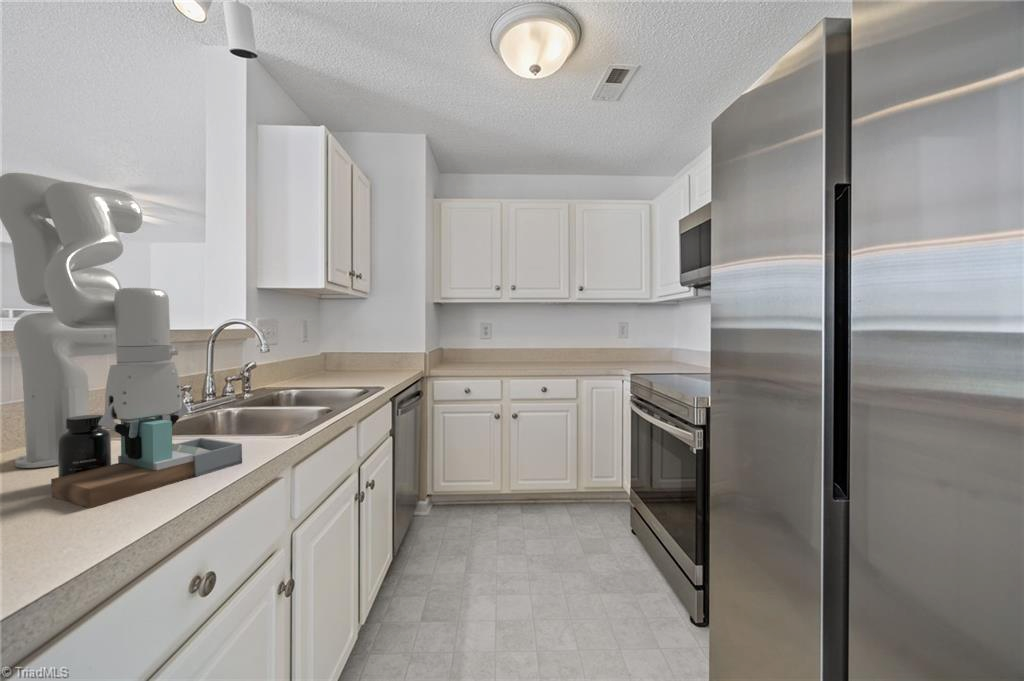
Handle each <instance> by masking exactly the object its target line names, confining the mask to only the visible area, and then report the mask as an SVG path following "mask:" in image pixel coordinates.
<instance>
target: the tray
mask: <svg viewBox="0 0 1024 681" xmlns="http://www.w3.org/2000/svg"><path fill="white" fill-rule="evenodd" d="M176 444H178V445H186V446H193V447H199V448H203V449H206V450H210V451H209V452H205V453H201V454H197V455H194V477H193V478H197V477H200V475H201V476H203V474H204V475H207V474H209V473H213V471H214V472H216V470H217V471H221V470H223V469H226V467H227V468H230V467H233V466H236V465H240V464H242V463H243V445H242V443H240V442H233V441H232V442H231V441H227V440H226V441H225V440H218V439H212V438H204V437H201V438H200V437H199V438H195V439H192V440H187V441H182V442H179V443H178V442H177V443H176ZM206 473H207V474H206ZM196 476H197V477H196Z"/></svg>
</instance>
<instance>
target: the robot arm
mask: <svg viewBox="0 0 1024 681" xmlns="http://www.w3.org/2000/svg"><path fill="white" fill-rule="evenodd" d="M143 218H144V217H143V212H142V209H141V207H140V205H139V203H138V201H137V200H135V199H134V198H133V197H132V196H130V195H129V194H126V193H123V192H119V191H115V190H110V189H106V188H101V187H97V186H93V185H89V184H84V183H81V182H74V181H64V180H60V179H57V178H56V179H55V178H52V177H47V176H42V175H38V174H33V173H24V172H8V173H4V174H1V175H0V221H1V223H2V225H3V227H4V228H5V230H6V232H7V233H8V236H9V238H10V240H11V244H12V247H13V257H14V264H15V270H16V278H17V284H18V290H19V294H20V296H21V298H22V300H23V301H24V302H25V303H27V304H28V305H32V306H36V307H42V308H51V310H52V312H35V313H30V314H27V315H24V316H22V317H20V318H19V319H17V321H16V322H15V324H14V325H13V337H14V344H15V346H16V349H17V352H18V356H19V361H20V366H21V377H22V390H23V411H24V412H23V414H24V434H25V439H24V440H25V455H24V456H20V457H19V458H17V459H15V460H14V466H15V467H16V468H19V469H36V468H38V469H39V468H46V467H54V466H58V440H59V438H60V437H61V436H62V435H63V434H65V433H66V432H68V429H66V419H67V418H70V417H75V416H83V415H90V399H89V398H90V395H89V394H90V393H89V392H90V391H89V378H88V375H87V372H86V371H85V370H84V369H83V368H82V367H81V366H80V365H79V364H78V363H76V361H74V360H73V358H74V357H83V356H85V357H86V356H103V355H104V356H105V355H112V354H113V355H116V364H110V366H109V369H108V375H107V381H106V386H105V396H104V413H103V414H102V415H103V416H102V418H101V419H100V421H99V423H98V426H100V427H102V428H104V429H106V430H111V431H114V432H115V433H117V434H118V435H120V437H121V436H123V437H125V453H126V455H128V458H131V459H136V460H137V459H140V458H141V457H142V446H141V437H138V433H137V432H138V424H139V419H145V418H150V419H152V418H153V419H158V420H166V421H172V427H173V426H174V425H175V424H176V422H178V421H179V420H180V419H181V418H182V417H184V416H185V415H187V414H188V413H189V411H190V410H189V408H188V407H187V406H186V404H185V403H184V402H183V399H182V398H183V397H182V388H181V382H180V381H181V380H180V377H179V376H180V375H179V372H178V368H177V364H176V362H175V361H172V359H173V356H177V355H179V350H178V348H177V347H176V348H175V347H174V348H173V347H172V345H171V325H170V323H171V322H170V321H171V320H170V299H169V295H168V293H167V292H166V291H165V290H162V289H160V288H159V289H157V288H148V287H124V288H123V287H122V286H121V283H120V280H119V279H118V277H117V276H116V275H115V274H114V273H113V272H111V271H109V270H108V269H104V268H100V266H102V265H105V264H109V263H112V262H114V261H115V260H118V258H120V257H121V256H122V254H123V252H124V244H123V243H122V240H121V238H120V236H119V234H118V233H121V234H122V233H123V234H134V233H136V232H137V231H139V229H140V228H141V226H142V224H143ZM47 219H48V220H52V222H53V225H52V224H51V223H50V222H49V221H47ZM98 266H99V267H98ZM72 357H73V358H72ZM115 420H119V421H120V422H121V421H122V424H121V423H119V422H115Z"/></svg>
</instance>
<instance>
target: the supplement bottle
mask: <svg viewBox="0 0 1024 681" xmlns="http://www.w3.org/2000/svg"><path fill="white" fill-rule="evenodd" d="M103 415H104V414H89V415H83V416H75V417H70V418H67V419H66V429H68V432H66V433H65V434H63V435H62V436H61V437H60V438H59V440H58V465H57V466H58V467H57V468H58V469H57V470H58V477H62V476H66V475H70V474H74V473H79V472H83V471H87V470H91V469H95V468H100V467H104V466H108V465H112V443H111V442H112V440H111V438H112V435H111V432H110V430H109V429H107V428H103V427H100V426H98V423H99V421H100V419H101V418H102V416H103Z"/></svg>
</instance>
